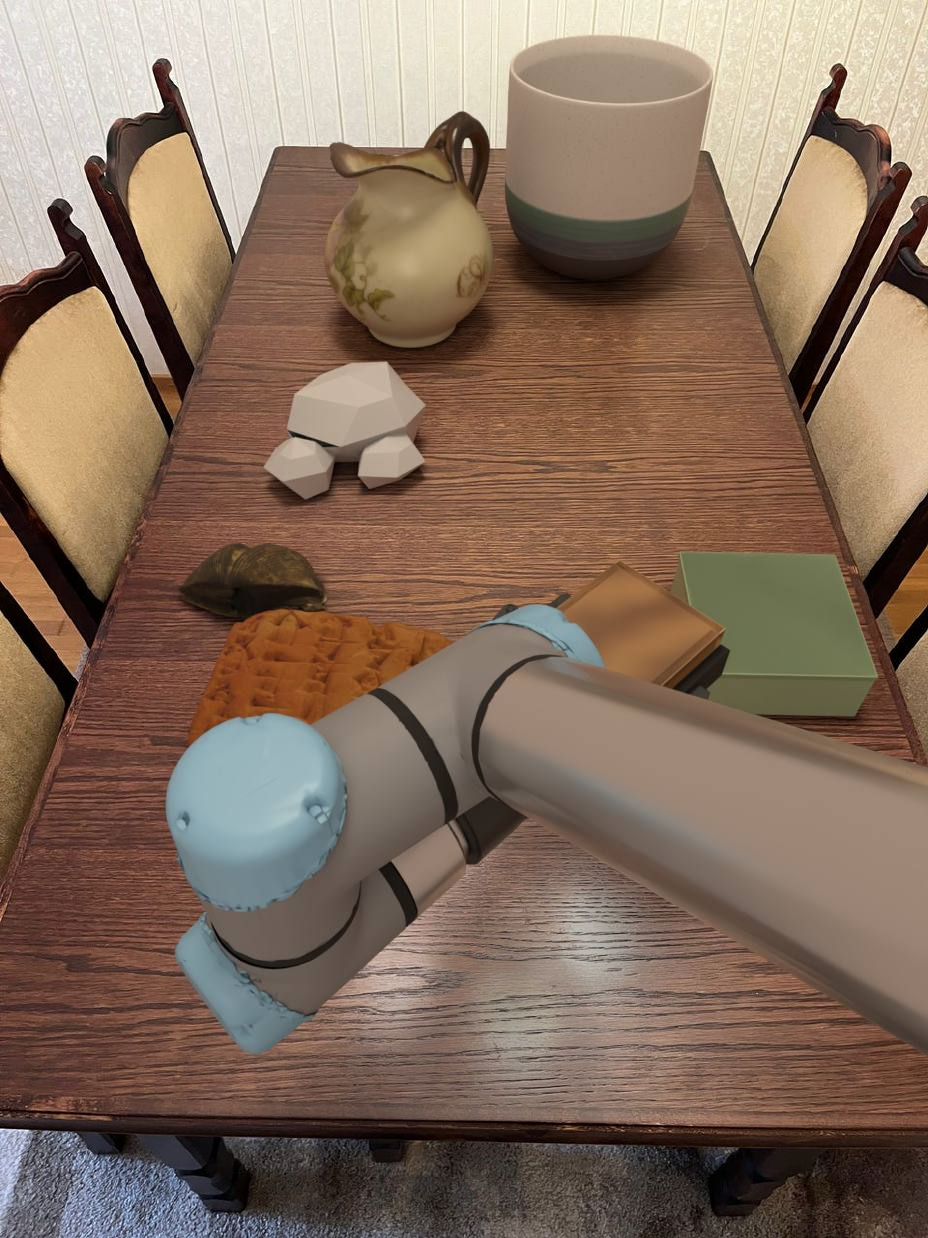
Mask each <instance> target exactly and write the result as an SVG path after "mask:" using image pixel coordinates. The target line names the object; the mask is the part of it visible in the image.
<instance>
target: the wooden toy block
mask: <svg viewBox="0 0 928 1238" xmlns="http://www.w3.org/2000/svg"><path fill="white" fill-rule="evenodd" d="M556 609H557V610H559V611H561V612H562V613H563V614H564V615H565V617H566V619H567V620H568V622H569V623H576V624H577V625H579V626H580V627H581V628H582V630H583V631H584V632H585V633H586V634H587V635H588V637H589V638H590V640H591V641H592V642H593V644H594V645H595V647H596V649H597V650H598V652H599V654H600V656H601V658H602V660H603V662H604V664H605V667H606V669H608V670H611V671H614V672H618V673H621V674H624V675H627V676H631V677H634V678H637V679H640V680H644V681H647V682H650V683H653V684H657V685H660V686H663V687H667V688H670V689H672V688H673V687H674V686H676V685H677V684H678V683H679V682H680V681H681V680H682V679H683V678H684V677H685V676H687V675H688V674H689V673H690V672H691V671H692V670H693V669H694V668H695V667H696V666H698V665H699V664H700V663H701V662H702V661H703V660H704V659H705V658H706V657H707V656H709V655H710V654H711V653H712V652H713V651H714V650H715V649H716V648H717V647H718V646H720V644H721V641H722V638H723V635H724V632H725V628H724V627H723V626H721V625H719V624H718V623H716V622H715V621H713V620H712V619H710V618H709V617H707V616H706V615H704V614H703V613H701V612H699V611H698V610H696V609H695V608H693V607H692V606H690V605H689V604H687V603H686V602H684V601H683V600H681V599H679V598H678V597H676V596H675V595H673V594H672V593H670V590H668V589H666V588H664V587H663V586H661V585H660V584H658V583H656V582H655V581H653V580H652V579H650V578H649V577H647V576H645V575H644V574H642V573H641V572H640V571H638V570H636V569H635V568H633V567H631V566H630V565H628V564H627V563H625V562H624V560H621V559H618V560H616V562H614V563H612V565H610V566H609V567H608V568H606V569H605V570H604V571H603V572H601V573H600V574H598V575H596V577H595V578H593V579H592V580H591V581H589V582H588V583H587V584H586V585H584V586H583V587H582V588H580V589H579V590H578V591H576V592H574V594H572V595H571V597H570V598H569V599H567V600H566V601H565V602H563V603H562V604H561V605H560V606H558V607H557V608H556Z"/></svg>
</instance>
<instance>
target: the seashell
mask: <svg viewBox="0 0 928 1238" xmlns="http://www.w3.org/2000/svg"><path fill="white" fill-rule="evenodd" d="M315 572H316V571H315V569H314V567H313V566H312V565H311V563H310V561H308V559H307V558H306V557H305V556H304V555H302V554H301V553H299V552H298V551H296V550H294V549H292V548H289V547H287V546H283V545H278V544H275V543H262V544H257V545H254V546H252V547H250V546H248V545H246V544H244V543H241V542H240V543H238V542H235V543H234V542H233V543H229V544H226V545H224V546H223V547H221V548H219V549H217V550H215V551H213V552H212V553H210V554H209V555H208V556H207V557H206V558H205V559H204V560H203V561H201V562H200V564H198V566H197V567H196V568H194V570H193V571H192V572H191V573H190V574H189V575H188V577H187V578H186V579H185V580H184V581H183V583H182V585H181V586H180V587H179V590H180V593H181V594H182V597H181V600H182V601H183V602H187V603H189V604H191V605H194V606H197V607H200V608H202V609H205V610H206V611H207V610H208V611H209V612H212V613H214V614H217V615H220V616H224V617H228V618H232V619H233V618H242V619H245V620H247V619H248V618H251V617H252V616H254V615H256V614H260V613H263V612H266V611H274V610H280V609H286V610H299V611H304V612H319V611H321V610H322V609H326V606H325V605H326V603H328V594H327V593H326V588H325V587H326V586H325V585H324V584H323V582H321V581H320V578H319V577H317V575H316V573H315Z"/></svg>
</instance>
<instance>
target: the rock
mask: <svg viewBox="0 0 928 1238" xmlns="http://www.w3.org/2000/svg"><path fill="white" fill-rule="evenodd" d="M291 403H292V404H291V408H290V412H289V418H288V422H287V426H286V432H287V434H288V436H289V438H288V439H286V440H284V441H283V442H281V443H280V444H279V445H278V446H277V447H275V449H274V450H273V451H272V452H271V455H270V456H269V457H268V459H267V460H266V462H265V464H264V466H263V469H264V470H266V471H267V472H268V473H270V474H271V475H272V476H273V477H274V478H276V479H277V480H278V481H280V482H281V483H282V484H283V485H284V486H286V487H287V488H289V490H291V491H293V492H294V493H296V495H298V496H300V497H301V498H303V499H304V500H308V499H310V498H312V497H314V496H317V495H320V494H322V493H324V492H326V491H329V489H330V485H331V480H332V476H333V472H334V471H333V470H334V467H335V463H352V462H353V463H355V462H358V471H357V477H358V478H359V479H360V481H362V482H363V483H364V485H365V486H366V487H367V489H369V490H371V489H374V488H379V487H381V486H385V485H389V484H392V483H396V482H399V481H401V480H402V479H404V478H406V476H408V475H409V474H411V473H412V472H414V471H415V470H417V469H418V468H419V467H421V466H422V465H423V464H424V463H425V462H426V459H425V457H423V455H422V454H421V452H420V451H419V450H418V448H417V446H416V445H415V444H414V441H415V439H416V437H417V432H418V431H419V430H418V429H419V427H420V423H421V420H422V418H423V416H424V415H423V414H424V411H425V408H426V406H427V405H426V404H425V402H423V400H422V399H421V398H420V397H418V395H417V394H416V393H415V392H414V391H413V390H412V389H410V387H409V386H408V385H406V383H405V382H404V381H403V379H402V378H401V377H400V375H398V373H397V372H396V371H395V369H394V368H393V367H392V366H391V365H390V363H389V362H388V361H365V362H364V361H363V362H350V363H347V364H345V365H343V366H340V367H337V368H334V369H332V370H329V371H327V372H324V373H321V374H320V375H318V376H317V377H316V378H314V379H313V380H311V381H310V382H309V383H307V384H306V385H305V386H303V387H302V388H301V389H300V390H298V391H297V392H295V393H294V395H293V399H292V402H291Z"/></svg>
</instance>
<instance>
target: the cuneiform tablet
mask: <svg viewBox="0 0 928 1238" xmlns="http://www.w3.org/2000/svg"><path fill="white" fill-rule="evenodd" d="M452 643H453V642H452V641H451V640H450V639H449V638H447V637H446V636H445V635H443V634H442V633H441V632H440V631H435V630H429V629H425V628H419V627H415V626H411V625H408V624H407V625H406V624H404V623H400V622H395V621H388V622H385V623H383V624H382V625H375V624H374V623H373V622H372V621H371V620H370V619H369V618H367V617H362V616H357V615H350V614H336V613H331V612H328V611H324V610H323V611H321V610H320V611H317V612H304V611H299V610H286V609H280V610H274V611H266V612H263V613H260V614H256V615H254V616H252V617H251V618H248V619H245V620H244V621H242V622H239V621H237V622H236V623H234V624H233V626H232V627H231V629H230V631H229V632H228V635H227V637H226V640H225V642H224V645H223V648H222V649H221V652H220V653H219V656H218V657H217V661H216V662H215V664H214V667H213V669H212V672H211V675H210V678H209V680H208V682H207V684H206V686H205V690H204V691H203V693H202V695H201V697H200V698H199V702H198V704H197V707H196V709H195V713H194V715H193V717H192V719H191V722H190V725H189V730H188V738H187V746H188V748H189V747H190V746H191V745H192V744H193V743H194V742H195V741H196V740H197V739H198V738H199V737H200V736H202V735H203V734H204V733H206V732H207V731H209V730H210V729H212V728H213V727H215V726H217V725H219V724H221V723H223V722H225V721H228V720H231V719H234V718H237V717H241V718H248V717H255V716H262V715H263V714H267V713H275V714H282V715H285V716H290V717H294V718H296V719H299V720H301V721H303V722H305V723H307V724H308V725H311V724H313V723H314V722H316V721H318V720H320V719H322V718H323V717H325V716H327V715H329V714H330V713H332V712H334V711H336V710H338V709H339V708H341V707H343V706H345V705H346V704H348V703H350V702H352V701H353V700H355V699H357V698H359V697H361V696H362V695H364V694H367V693H368V692H370V691H372V690H374V689H376V688H378V687H379V686H381V685H383V684H384V683H386V682H388V681H389V680H391V679H393V678H395V677H396V676H398V675H400V674H401V673H403V672H405V671H406V670H408V669H410V668H412V667H413V666H415V665H417V664H418V663H420V662H422V661H423V660H425V659H427V658H429V657H430V656H432V655H434V654H435V653H437V652H439V651H440V650H442V649H444V648H446V647H447V646H449V645H451V644H452Z"/></svg>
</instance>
